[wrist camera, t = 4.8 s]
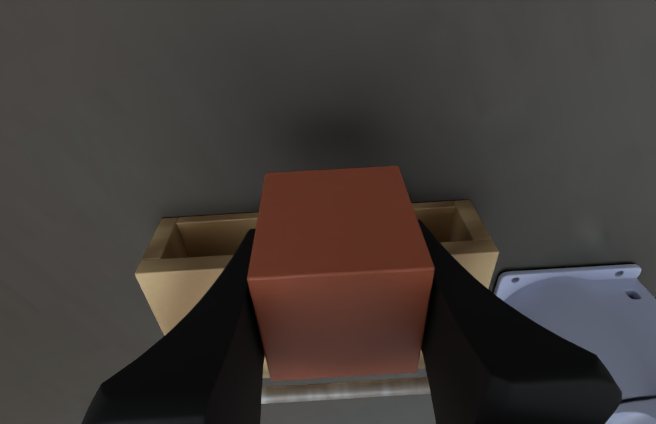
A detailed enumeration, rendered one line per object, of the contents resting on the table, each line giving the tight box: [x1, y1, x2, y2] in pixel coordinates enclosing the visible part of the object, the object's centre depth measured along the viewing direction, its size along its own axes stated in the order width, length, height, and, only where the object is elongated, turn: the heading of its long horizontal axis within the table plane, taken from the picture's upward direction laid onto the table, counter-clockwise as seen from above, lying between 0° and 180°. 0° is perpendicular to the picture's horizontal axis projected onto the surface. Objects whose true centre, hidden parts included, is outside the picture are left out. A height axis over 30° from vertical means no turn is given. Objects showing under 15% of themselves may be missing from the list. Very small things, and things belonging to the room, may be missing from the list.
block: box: [247, 166, 435, 381], centre depth 13 cm, size 5×5×5 cm
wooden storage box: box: [135, 200, 499, 404], centre depth 23 cm, size 18×10×6 cm, turn 93°
